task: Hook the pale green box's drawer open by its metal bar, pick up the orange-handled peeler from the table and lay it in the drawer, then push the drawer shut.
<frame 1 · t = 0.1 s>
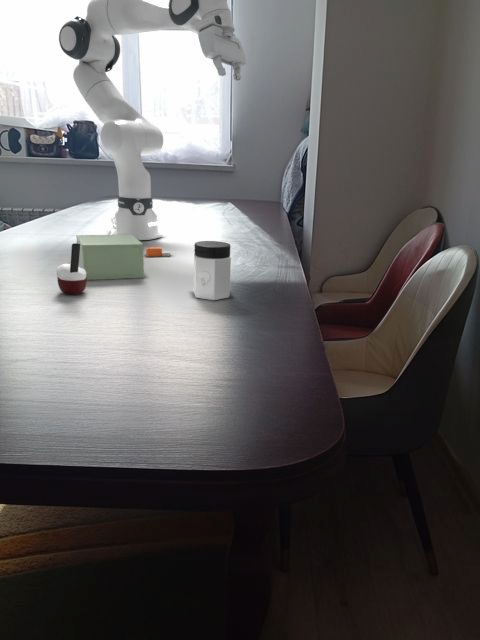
hand: (230, 77, 154), 52 cm above the table, tool tilted 20°, fingers open, 8 cm apart
pale green box: (110, 272, 136), on the table
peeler: (157, 255, 159), on the table
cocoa: (73, 294, 115), on the table
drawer: (107, 252, 138), point 4 cm above the table, slide at 0.5 cm
jar: (211, 296, 120), on the table
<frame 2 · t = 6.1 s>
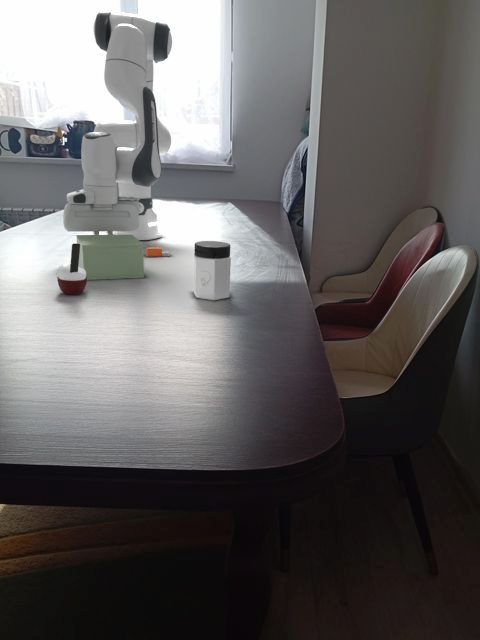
hand: (103, 247, 144), 4 cm above the table, tool pointing down, fingers closed
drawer: (106, 252, 139), point 4 cm above the table, slide at 1.6 cm
everything else where it was.
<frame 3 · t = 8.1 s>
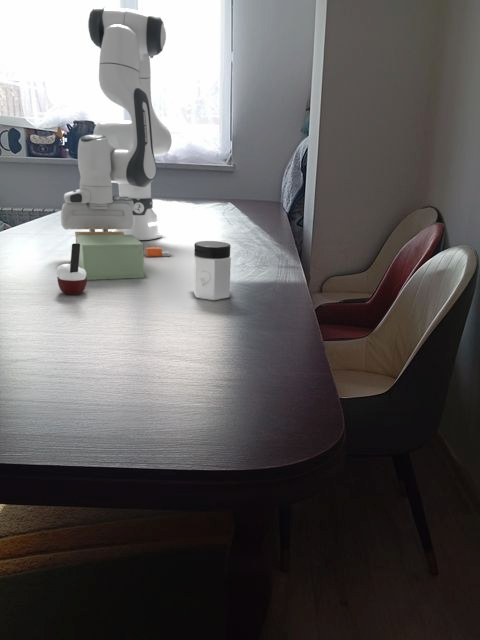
hand: (99, 244, 152), 4 cm above the table, tool pointing down, fingers closed
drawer: (102, 246, 146), point 4 cm above the table, slide at 10.0 cm
everything else where it was.
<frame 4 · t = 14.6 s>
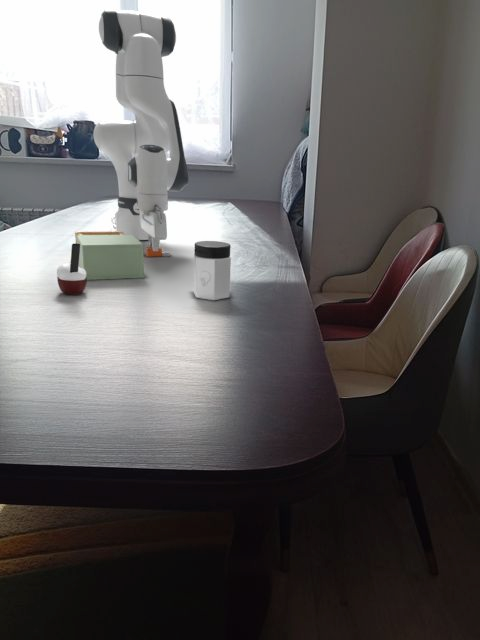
hand: (153, 249, 158), 2 cm above the table, tool pointing down, fingers closed on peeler, 2 cm apart
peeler: (157, 255, 159), on the table, touching gripper
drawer: (102, 245, 146), point 4 cm above the table, slide at 10.5 cm
everything else where it was.
when the fingers open (4 cm above the table, at t = 21.5 s): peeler stays where it is, resting on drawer.
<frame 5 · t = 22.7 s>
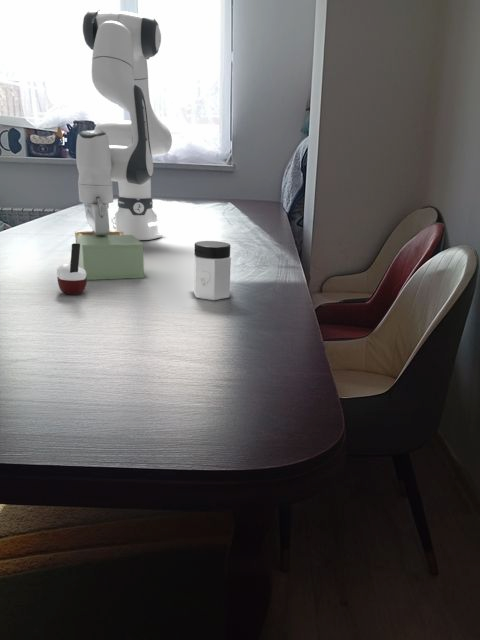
hand: (99, 246, 144), 5 cm above the table, tool pointing down, fingers open, 5 cm apart
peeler: (103, 255, 145), point 2 cm above the table, touching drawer
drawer: (102, 245, 146), point 4 cm above the table, slide at 10.5 cm, touching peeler
everything else where it was.
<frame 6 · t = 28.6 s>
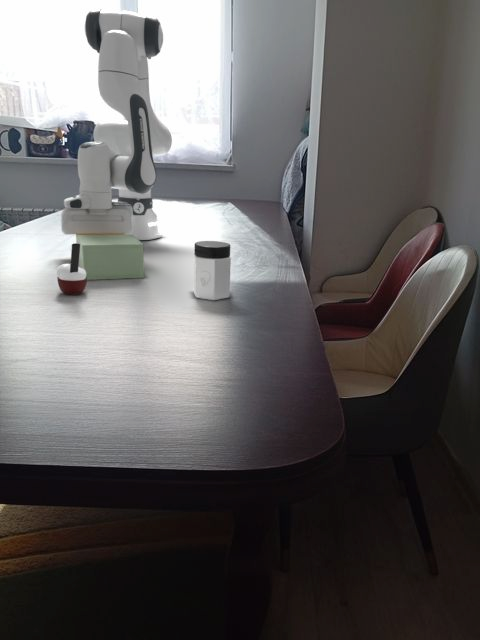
hand: (98, 249, 154), 2 cm above the table, tool pointing down, fingers closed
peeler: (104, 257, 143), point 2 cm above the table, touching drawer
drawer: (103, 247, 144), point 4 cm above the table, slide at 8.2 cm, touching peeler
everything else where it was.
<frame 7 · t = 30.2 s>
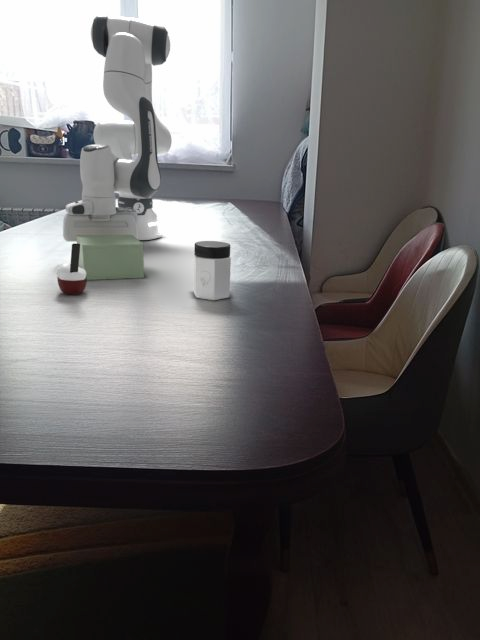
hand: (102, 256, 147), 1 cm above the table, tool pointing down, fingers closed, pressing on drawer
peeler: (109, 262, 137), point 2 cm above the table, touching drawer
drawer: (107, 252, 138), point 4 cm above the table, slide at 0.5 cm, touching gripper, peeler
everything else where it was.
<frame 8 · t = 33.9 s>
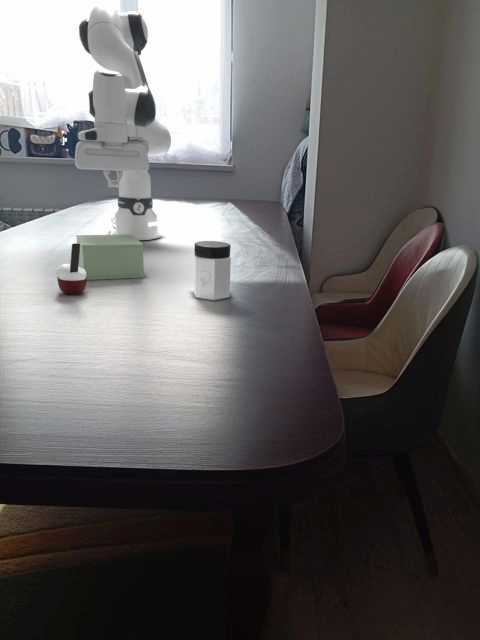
hand: (113, 187, 148), 20 cm above the table, tool pointing down, fingers closed
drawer: (107, 253, 137), point 4 cm above the table, slide at 0.0 cm, touching pale green box, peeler
everything else where it was.
at the end: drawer pulled out 10.5 cm at the most during the clip, back to where it started at the end; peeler inside the target area in the pale green box (1.8 cm from its centre), point 2.0 cm above the pale green box's base; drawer slide at 0.0 cm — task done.
